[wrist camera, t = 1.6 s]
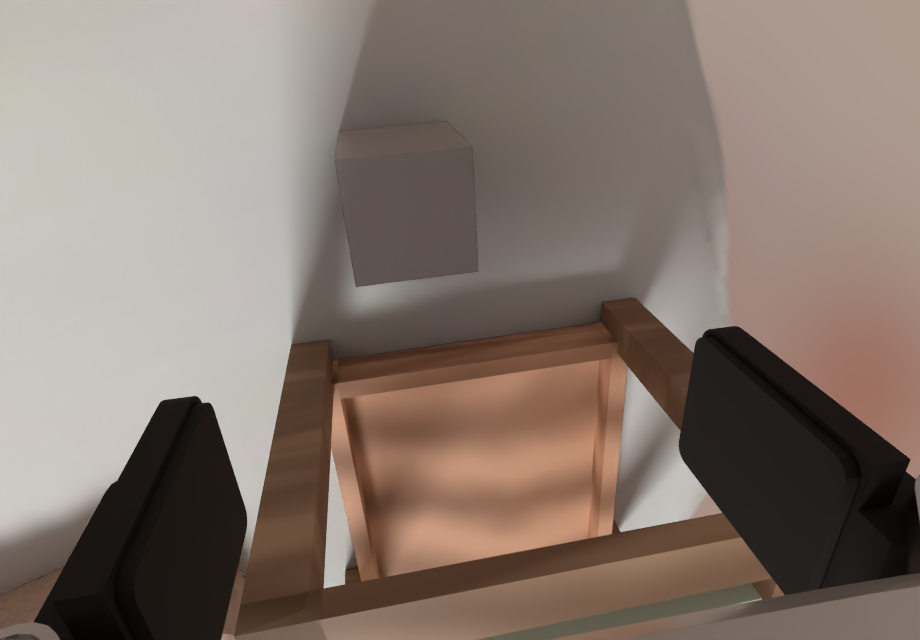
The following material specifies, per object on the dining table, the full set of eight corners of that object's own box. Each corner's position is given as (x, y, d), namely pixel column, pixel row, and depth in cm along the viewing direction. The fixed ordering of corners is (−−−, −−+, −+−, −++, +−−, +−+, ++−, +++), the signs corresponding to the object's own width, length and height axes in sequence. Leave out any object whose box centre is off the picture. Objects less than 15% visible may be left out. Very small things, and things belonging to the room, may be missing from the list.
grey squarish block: (338, 131, 26) (334, 159, 20) (446, 120, 26) (472, 146, 20) (355, 234, 28) (355, 286, 22) (453, 223, 28) (478, 271, 23)
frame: (291, 344, 30) (233, 636, 16) (635, 297, 32) (862, 513, 18) (358, 624, 41) (361, 942, 27) (608, 575, 44) (734, 842, 29)
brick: (182, 506, 34) (158, 571, 30) (258, 583, 38) (245, 650, 34) (-52, 610, 35) (-107, 687, 31) (46, 674, 39) (9, 750, 35)
